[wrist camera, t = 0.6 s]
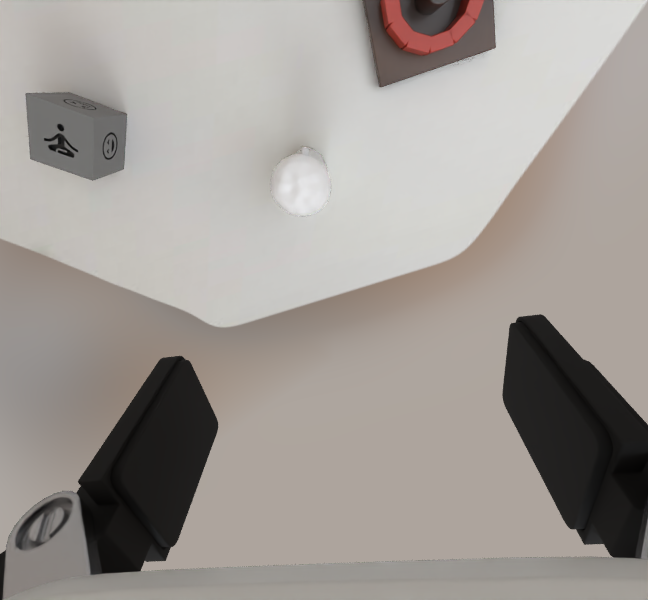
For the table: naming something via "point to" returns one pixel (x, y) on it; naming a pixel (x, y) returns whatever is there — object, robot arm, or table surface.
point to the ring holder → (427, 18)
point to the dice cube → (75, 134)
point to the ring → (423, 42)
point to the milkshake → (301, 183)
